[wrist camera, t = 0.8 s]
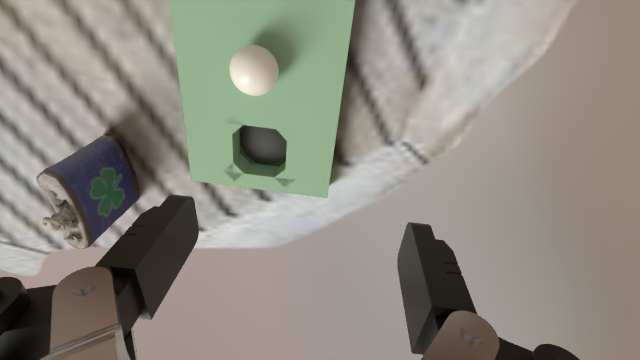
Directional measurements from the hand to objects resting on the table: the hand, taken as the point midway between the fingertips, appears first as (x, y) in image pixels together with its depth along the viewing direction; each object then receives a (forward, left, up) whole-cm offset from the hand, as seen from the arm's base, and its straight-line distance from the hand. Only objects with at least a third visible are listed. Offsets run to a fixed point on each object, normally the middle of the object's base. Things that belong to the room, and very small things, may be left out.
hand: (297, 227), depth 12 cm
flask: (+13, -23, -22) cm, 35 cm away
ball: (-1, -6, -18) cm, 19 cm away
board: (+1, -6, -22) cm, 23 cm away
